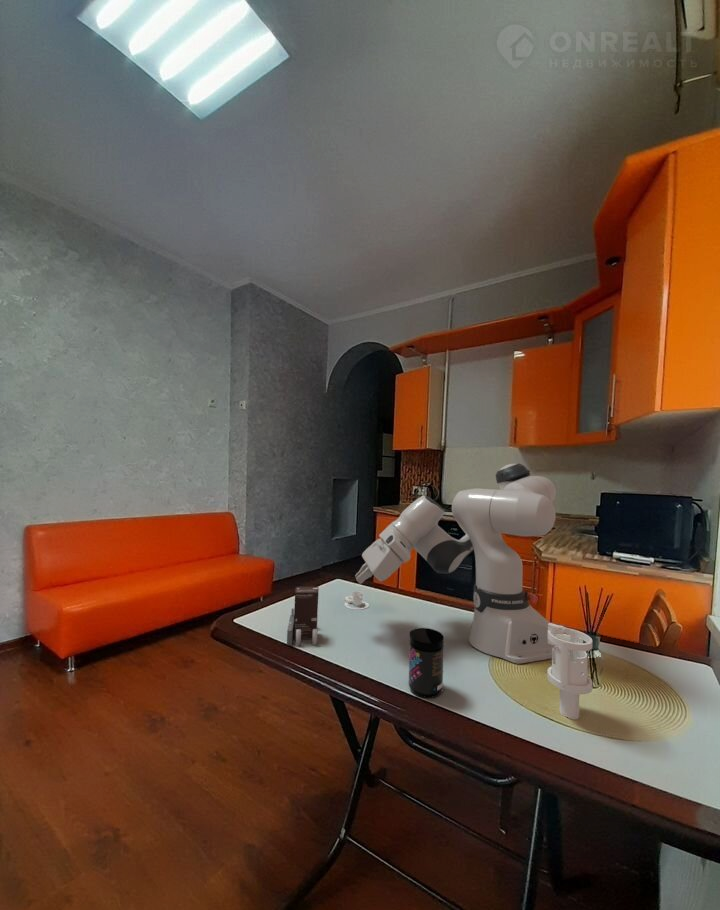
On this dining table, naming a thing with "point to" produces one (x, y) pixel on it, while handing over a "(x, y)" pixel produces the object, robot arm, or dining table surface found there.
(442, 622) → the dining table surface
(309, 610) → the box
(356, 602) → the teacup and saucer
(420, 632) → the supplement container
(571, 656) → the white plastic upright piece
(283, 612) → the dining table surface
